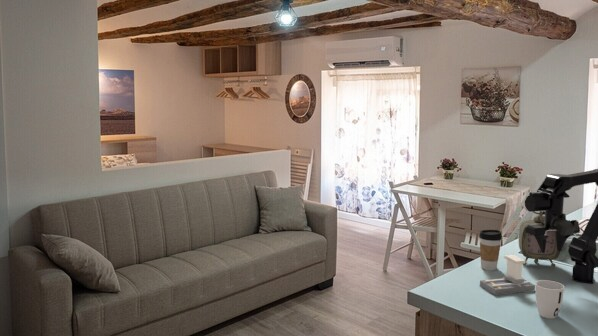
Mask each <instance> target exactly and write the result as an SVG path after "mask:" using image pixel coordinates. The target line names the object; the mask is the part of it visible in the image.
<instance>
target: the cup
mask: <svg viewBox="0 0 598 336" xmlns="http://www.w3.org/2000/svg"><path fill="white" fill-rule="evenodd" d="M534 285H535V301H536V308H537V312H538V314H539V316H540V317H542V318H546V319H556V318H557V317H558V315H559V312H560V310H561V306H562V302H563V298H564V293H565V292H564V291H565V285H564V284H562V283H560V282H558V281H554V280H547V279H540V280H537V281H535V284H534Z"/></svg>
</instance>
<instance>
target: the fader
mask: <svg viewBox="0 0 598 336" xmlns="http://www.w3.org/2000/svg"><path fill="white" fill-rule="evenodd" d="M503 259H505V260H506V271H505V272H506V273H504V274H503V277H502V278H505V279H507V280H509V281H511V282H513V283H522V282H524V280H525V278H523V277H522V269H523V264H524V263H525V259H523V258H522V257H519V256H517V255H514V254H507V255H506V254H505V255H504V257H503ZM521 277H522V278H521Z"/></svg>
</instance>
